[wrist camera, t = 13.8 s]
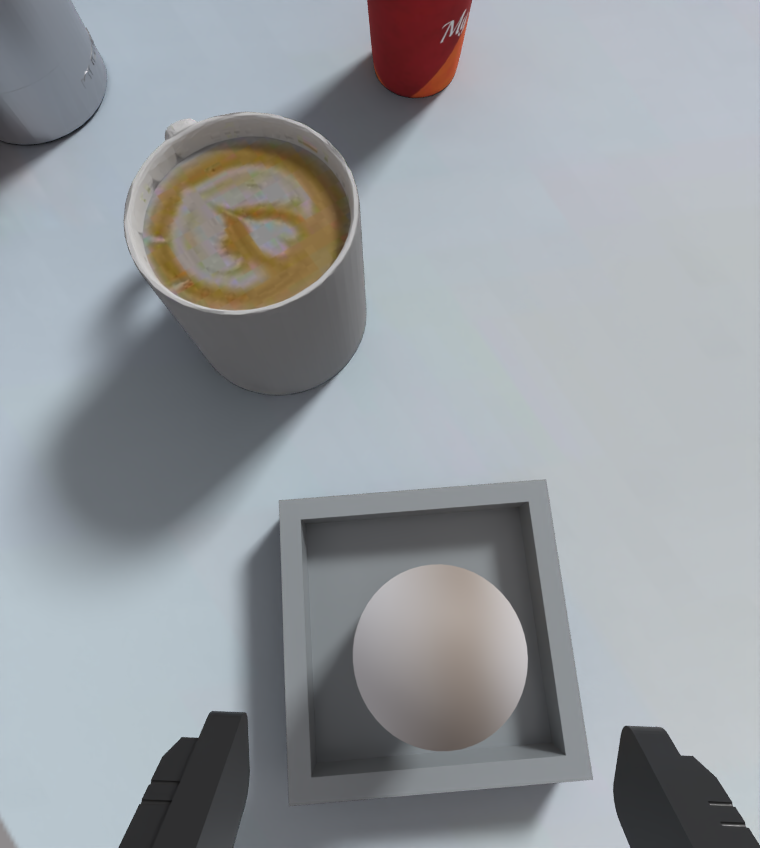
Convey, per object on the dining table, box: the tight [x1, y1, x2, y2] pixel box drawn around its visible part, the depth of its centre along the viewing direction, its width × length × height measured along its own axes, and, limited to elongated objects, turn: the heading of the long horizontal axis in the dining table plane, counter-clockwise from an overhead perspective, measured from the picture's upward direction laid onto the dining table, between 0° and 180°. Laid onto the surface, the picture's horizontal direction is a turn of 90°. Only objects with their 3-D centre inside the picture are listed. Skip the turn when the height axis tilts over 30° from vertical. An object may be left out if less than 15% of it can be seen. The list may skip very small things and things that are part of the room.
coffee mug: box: [124, 112, 366, 395], centre depth 30 cm, size 13×10×10 cm
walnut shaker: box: [353, 564, 528, 751], centre depth 23 cm, size 5×5×11 cm
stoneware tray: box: [279, 479, 593, 806], centre depth 28 cm, size 13×13×3 cm
